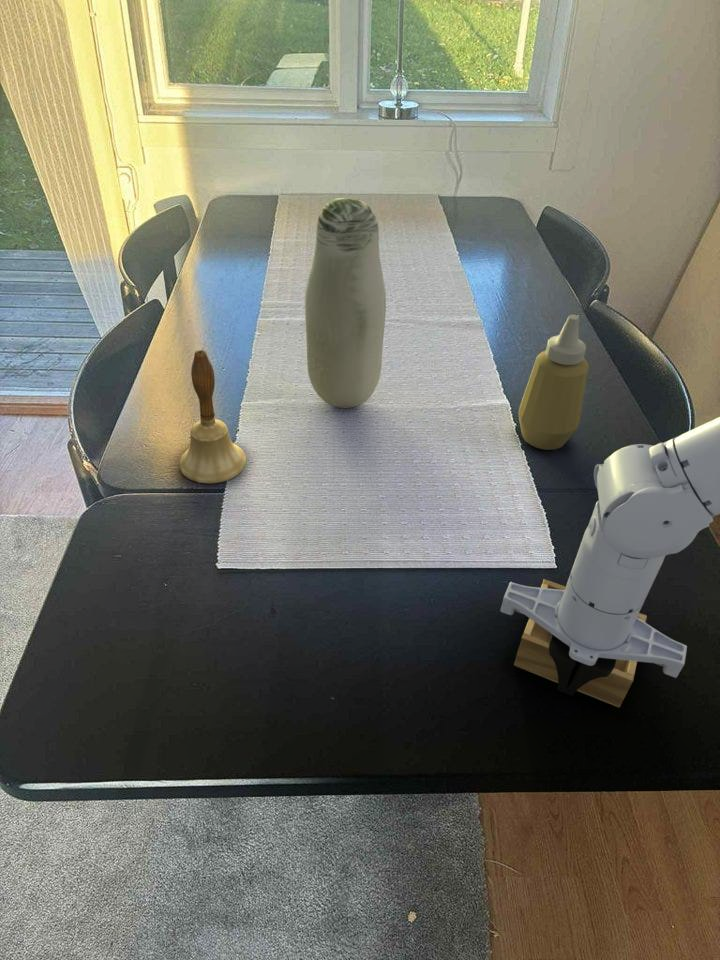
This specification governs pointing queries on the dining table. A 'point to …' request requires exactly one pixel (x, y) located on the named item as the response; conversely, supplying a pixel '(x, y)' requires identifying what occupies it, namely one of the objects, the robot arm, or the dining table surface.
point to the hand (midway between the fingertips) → (567, 684)
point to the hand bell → (209, 434)
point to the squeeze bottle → (555, 390)
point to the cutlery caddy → (541, 663)
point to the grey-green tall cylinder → (345, 304)
